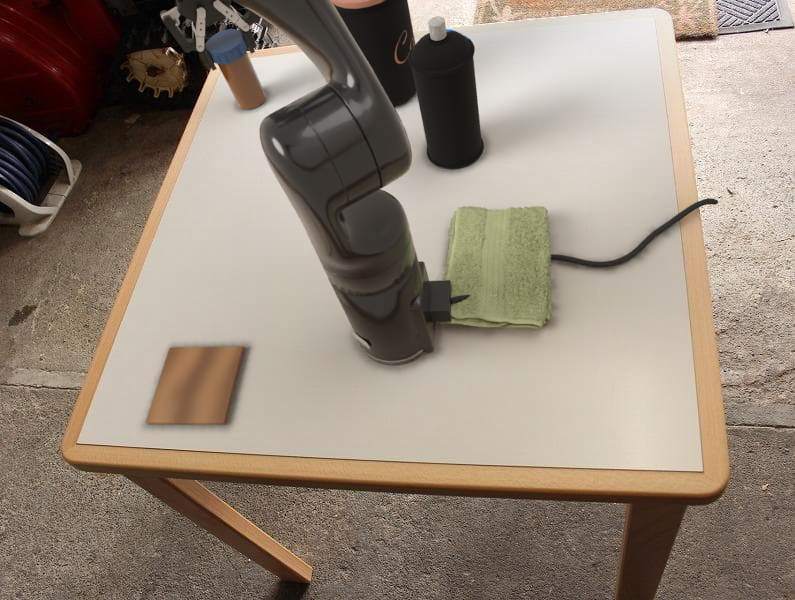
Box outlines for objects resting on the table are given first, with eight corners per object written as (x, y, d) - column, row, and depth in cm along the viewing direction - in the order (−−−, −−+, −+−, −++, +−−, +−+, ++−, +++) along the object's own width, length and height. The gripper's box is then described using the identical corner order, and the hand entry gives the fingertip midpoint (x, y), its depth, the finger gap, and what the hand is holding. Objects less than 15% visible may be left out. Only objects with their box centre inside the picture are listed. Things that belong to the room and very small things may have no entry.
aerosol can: (475, 172, 84) (460, 44, 68) (419, 166, 87) (392, 41, 71) (490, 131, 88) (479, 0, 72) (436, 127, 91) (414, 0, 75)
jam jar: (268, 89, 104) (243, 31, 95) (262, 108, 102) (236, 51, 93) (241, 92, 105) (214, 35, 96) (235, 111, 103) (206, 55, 94)
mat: (245, 348, 75) (243, 345, 75) (226, 424, 70) (223, 422, 69) (171, 349, 77) (169, 347, 77) (147, 424, 72) (145, 422, 72)
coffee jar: (416, 111, 94) (393, 0, 79) (350, 112, 97) (317, 5, 82) (427, 66, 99) (408, -45, 85) (365, 69, 102) (336, -39, 87)
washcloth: (437, 332, 71) (433, 317, 69) (452, 216, 81) (449, 200, 78) (552, 336, 68) (553, 321, 66) (554, 215, 78) (555, 198, 75)
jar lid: (251, 38, 97) (246, 26, 95) (243, 62, 94) (238, 50, 92) (216, 43, 98) (211, 31, 96) (207, 66, 95) (201, 55, 93)
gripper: (138, -16, 80) (196, 90, 94) (238, -59, 82) (281, 51, 95) (129, -38, 85) (185, 66, 98) (224, -79, 86) (267, 30, 100)
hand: (232, 58), depth 97 cm, fingers closed on jar lid, 6 cm apart
